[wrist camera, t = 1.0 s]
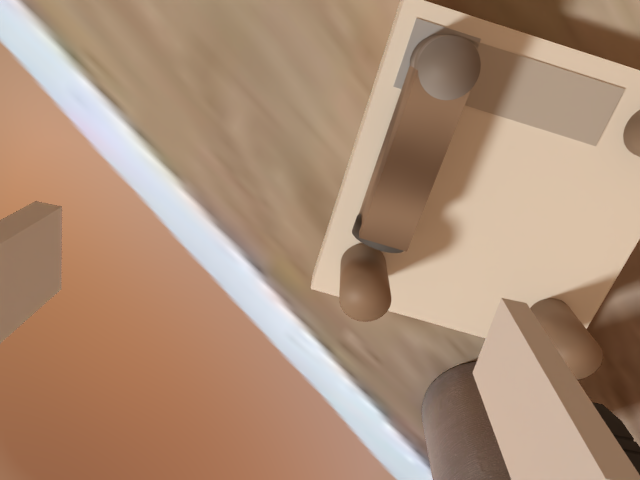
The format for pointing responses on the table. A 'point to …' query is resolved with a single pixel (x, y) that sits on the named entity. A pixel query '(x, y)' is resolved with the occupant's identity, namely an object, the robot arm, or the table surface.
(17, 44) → the table surface
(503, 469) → the pillar candle
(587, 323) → the stool seat
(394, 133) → the folding leg
